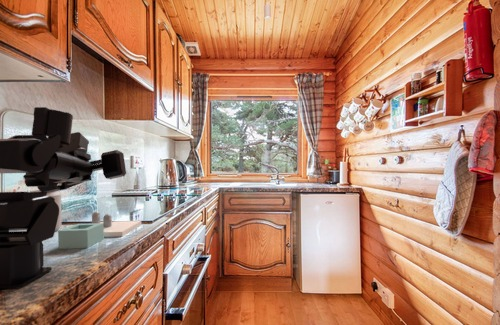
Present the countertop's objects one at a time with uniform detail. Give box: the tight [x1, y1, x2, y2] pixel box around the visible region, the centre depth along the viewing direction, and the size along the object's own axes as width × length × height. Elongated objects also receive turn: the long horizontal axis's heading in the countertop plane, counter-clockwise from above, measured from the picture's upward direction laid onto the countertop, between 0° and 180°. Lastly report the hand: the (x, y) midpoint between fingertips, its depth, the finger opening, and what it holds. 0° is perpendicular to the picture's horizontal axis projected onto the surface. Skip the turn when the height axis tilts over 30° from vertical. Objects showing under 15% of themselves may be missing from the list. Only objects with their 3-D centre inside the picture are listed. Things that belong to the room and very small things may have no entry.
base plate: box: [91, 211, 142, 238], centre depth 69 cm, size 12×14×5 cm
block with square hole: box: [57, 222, 105, 250], centre depth 58 cm, size 6×6×4 cm
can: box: [29, 189, 63, 232], centre depth 69 cm, size 8×8×12 cm
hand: (102, 175), depth 65 cm, fingers open, 9 cm apart
